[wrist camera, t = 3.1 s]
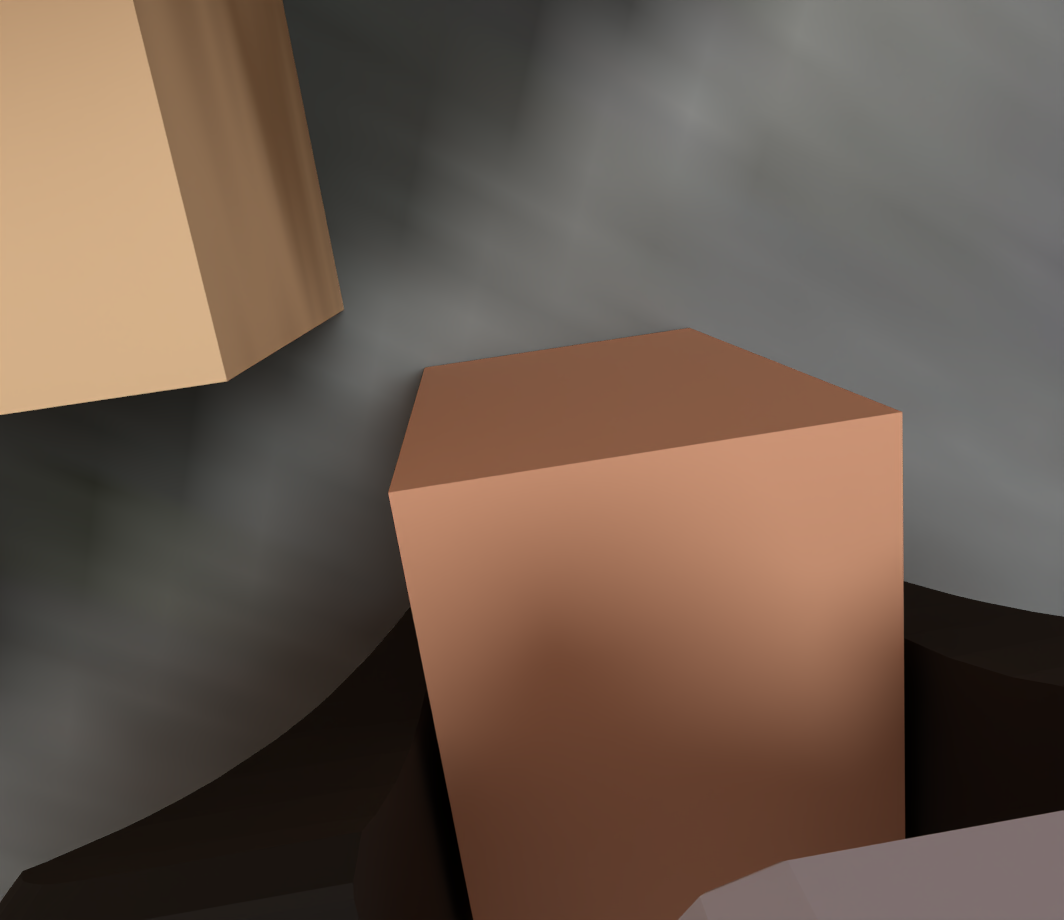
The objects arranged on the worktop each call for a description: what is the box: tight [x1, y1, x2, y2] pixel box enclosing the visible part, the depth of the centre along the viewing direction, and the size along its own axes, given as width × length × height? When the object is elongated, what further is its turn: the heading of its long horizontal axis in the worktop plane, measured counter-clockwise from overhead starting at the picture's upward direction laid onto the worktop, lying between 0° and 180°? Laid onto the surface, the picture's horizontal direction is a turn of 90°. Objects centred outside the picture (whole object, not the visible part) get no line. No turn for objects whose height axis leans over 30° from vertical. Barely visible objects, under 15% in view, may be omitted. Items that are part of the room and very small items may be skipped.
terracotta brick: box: [388, 328, 905, 920], centre depth 10 cm, size 8×4×6 cm, turn 8°
